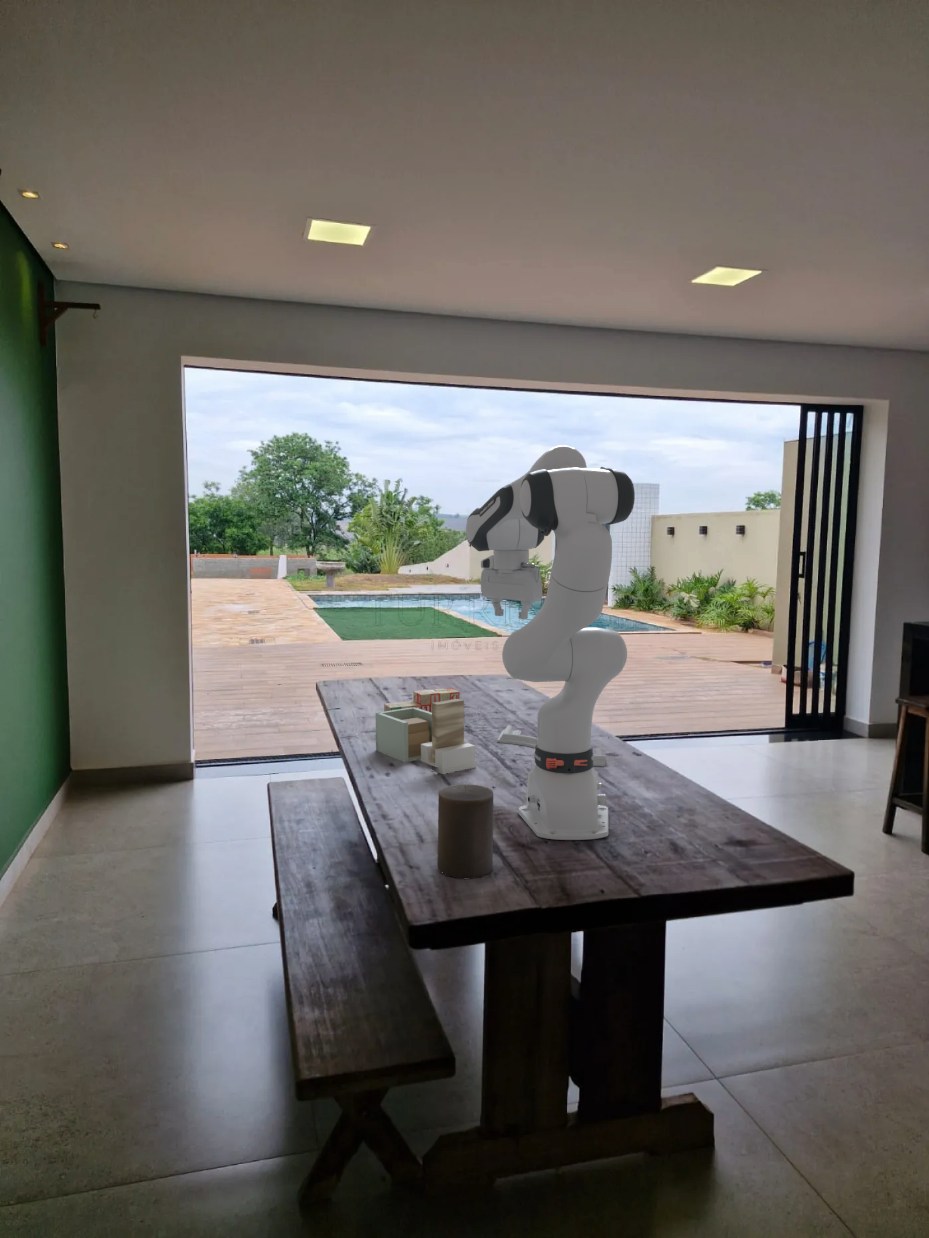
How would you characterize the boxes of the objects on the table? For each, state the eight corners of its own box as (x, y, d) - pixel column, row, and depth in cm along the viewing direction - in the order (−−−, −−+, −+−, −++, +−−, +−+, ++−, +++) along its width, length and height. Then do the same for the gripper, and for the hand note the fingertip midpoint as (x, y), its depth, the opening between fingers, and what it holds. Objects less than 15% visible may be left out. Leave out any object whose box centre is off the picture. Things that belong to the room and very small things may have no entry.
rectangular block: (463, 758, 207) (463, 700, 205) (437, 764, 202) (437, 704, 201) (458, 756, 209) (458, 698, 207) (432, 762, 204) (431, 702, 202)
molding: (616, 766, 208) (616, 755, 207) (580, 773, 201) (581, 762, 200) (513, 732, 242) (513, 722, 242) (479, 738, 235) (479, 728, 235)
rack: (443, 758, 212) (443, 716, 211) (404, 766, 205) (403, 722, 204) (414, 747, 224) (414, 707, 222) (376, 754, 216) (375, 712, 215)
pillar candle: (458, 884, 137) (459, 797, 136) (426, 864, 145) (427, 782, 144) (504, 870, 143) (505, 786, 141) (471, 852, 151) (472, 773, 149)
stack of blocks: (390, 739, 232) (390, 697, 231) (383, 734, 238) (383, 693, 237) (460, 732, 241) (460, 691, 239) (452, 727, 246) (451, 687, 245)
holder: (475, 767, 205) (475, 745, 204) (443, 774, 199) (442, 752, 198) (452, 758, 213) (452, 737, 212) (420, 765, 207) (420, 743, 206)
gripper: (548, 563, 197) (548, 620, 199) (495, 560, 213) (495, 613, 215) (528, 563, 193) (528, 622, 195) (476, 561, 210) (476, 615, 211)
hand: (510, 617), depth 205 cm, fingers open, 8 cm apart
